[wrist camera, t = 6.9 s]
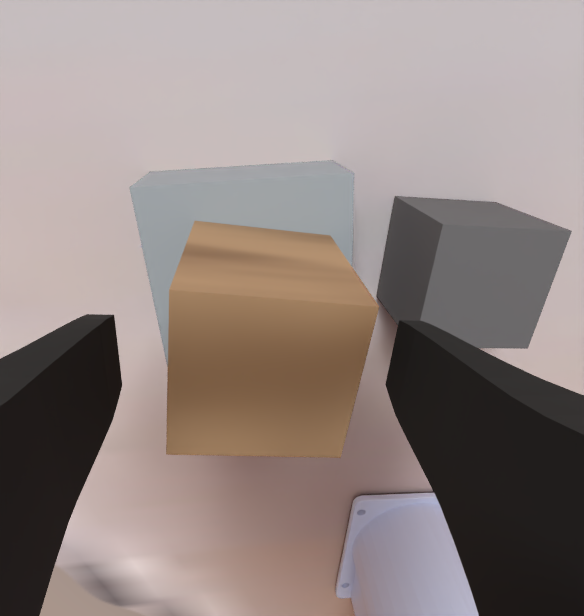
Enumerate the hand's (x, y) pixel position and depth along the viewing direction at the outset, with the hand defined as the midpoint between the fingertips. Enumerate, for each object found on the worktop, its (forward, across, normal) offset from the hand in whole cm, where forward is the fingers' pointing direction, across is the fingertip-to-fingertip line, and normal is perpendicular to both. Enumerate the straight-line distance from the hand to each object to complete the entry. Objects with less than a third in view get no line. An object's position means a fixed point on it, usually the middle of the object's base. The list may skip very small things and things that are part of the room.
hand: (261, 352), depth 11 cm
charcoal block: (+8, -8, -1) cm, 11 cm away
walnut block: (+4, 0, 0) cm, 4 cm away
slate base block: (+8, 0, 0) cm, 8 cm away
